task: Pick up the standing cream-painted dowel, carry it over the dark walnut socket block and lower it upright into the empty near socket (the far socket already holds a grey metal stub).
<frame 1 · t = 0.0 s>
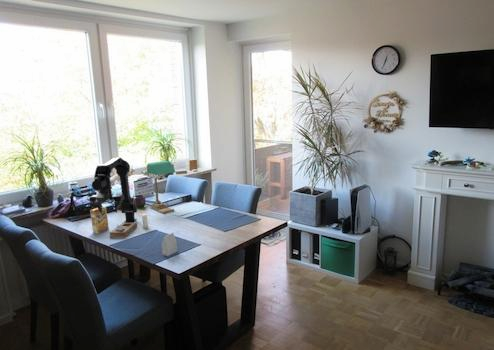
hand: (108, 212, 226), 15 cm above the table, fingers open, 9 cm apart
cream dowel: (145, 228, 240), on the table
grey metal stub: (120, 234, 228), resting on walnut socket block
banker's lamp: (162, 210, 280), on the table
walnut socket block: (124, 233, 233), on the table
candy box: (101, 232, 237), on the table
tea bag: (170, 253, 200), on the table
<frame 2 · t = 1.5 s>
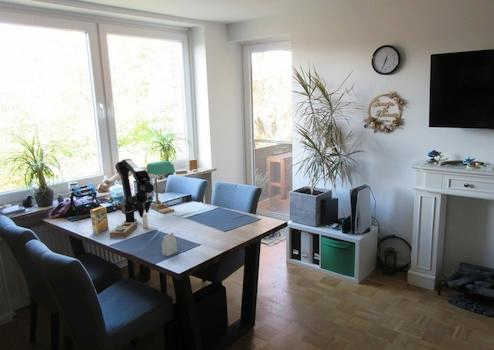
hand: (144, 215, 239), 9 cm above the table, fingers open, 9 cm apart
nothing on the table moved.
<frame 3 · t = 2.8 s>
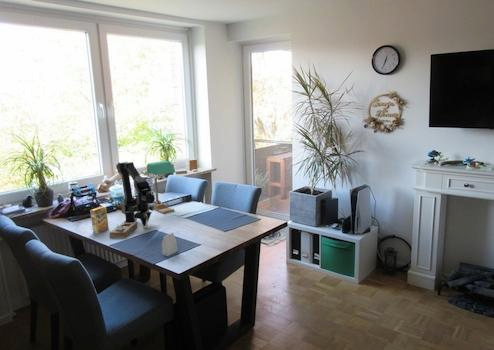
hand: (145, 225, 240), 2 cm above the table, fingers closed on cream dowel, 3 cm apart
cream dowel: (145, 228, 240), on the table, touching gripper
everything else where it was.
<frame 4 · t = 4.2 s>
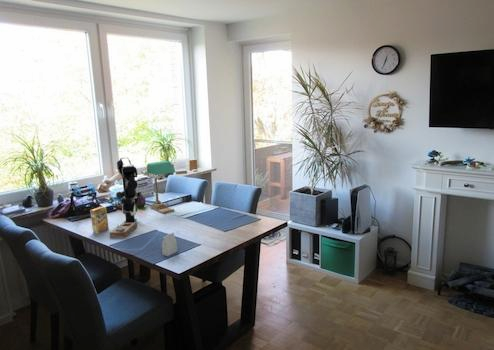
hand: (133, 211, 236), 12 cm above the table, fingers closed on cream dowel, 3 cm apart
cream dowel: (133, 214, 236), point 10 cm above the table, touching gripper
everything else where it was.
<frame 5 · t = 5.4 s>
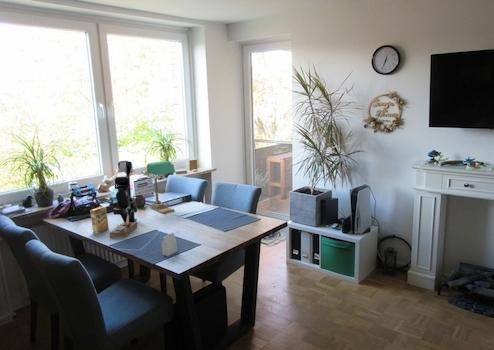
hand: (126, 221, 236), 6 cm above the table, fingers closed on cream dowel, 3 cm apart
cream dowel: (126, 225, 236), point 4 cm above the table, touching gripper
everything else where it was.
when the fingers open (5 cm above the table, at t = 5.8 s): cream dowel drops 2 cm, resting on walnut socket block.
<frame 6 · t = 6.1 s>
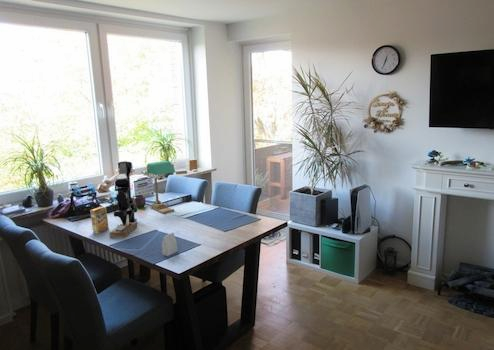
hand: (126, 223, 236), 5 cm above the table, fingers open, 6 cm apart
cream dowel: (127, 229, 237), point 1 cm above the table, touching walnut socket block
everything else where it was.
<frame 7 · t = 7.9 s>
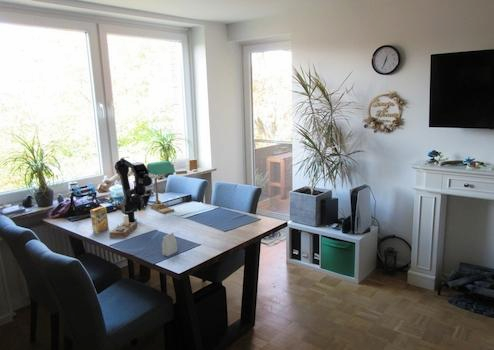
hand: (142, 208, 239), 13 cm above the table, fingers open, 9 cm apart
nothing on the table moved.
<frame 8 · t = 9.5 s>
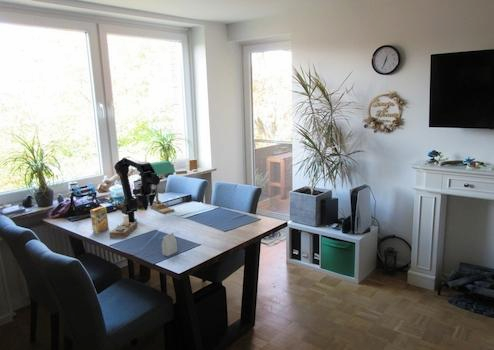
hand: (148, 207, 241), 12 cm above the table, fingers open, 9 cm apart
nothing on the table moved.
at the end: cream dowel 0.0 cm from the target spot on the walnut socket block, point 1.0 cm above the walnut socket block's base; cream dowel tilted 1°; the gripper is holding nothing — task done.
